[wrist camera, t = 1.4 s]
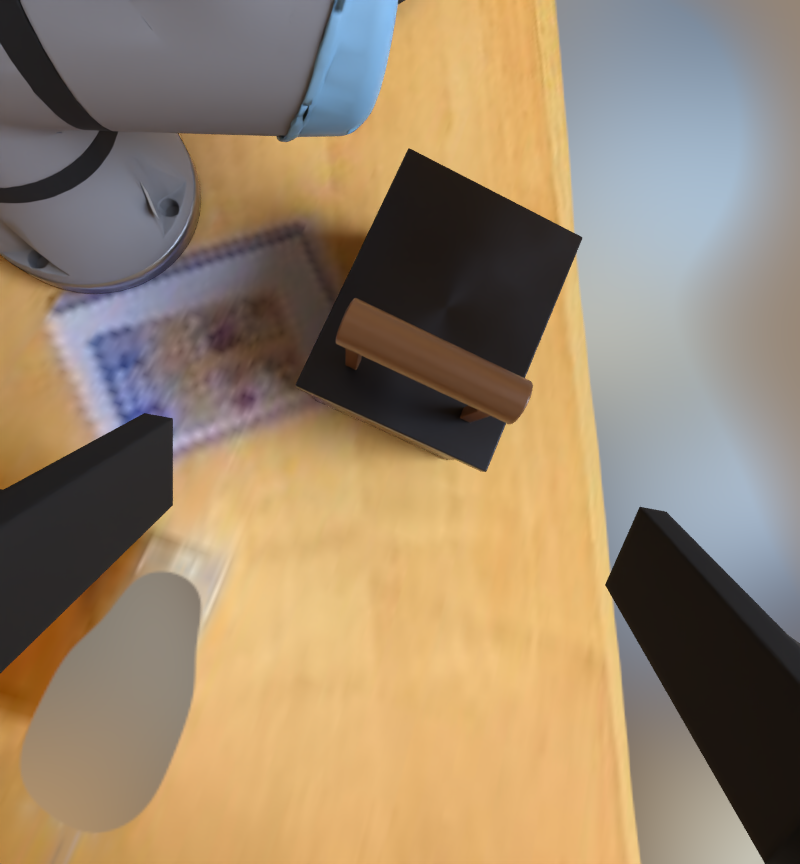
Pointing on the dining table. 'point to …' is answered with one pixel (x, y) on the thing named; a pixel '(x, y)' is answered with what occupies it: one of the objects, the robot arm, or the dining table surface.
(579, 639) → the dining table surface
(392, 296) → the bacon press
